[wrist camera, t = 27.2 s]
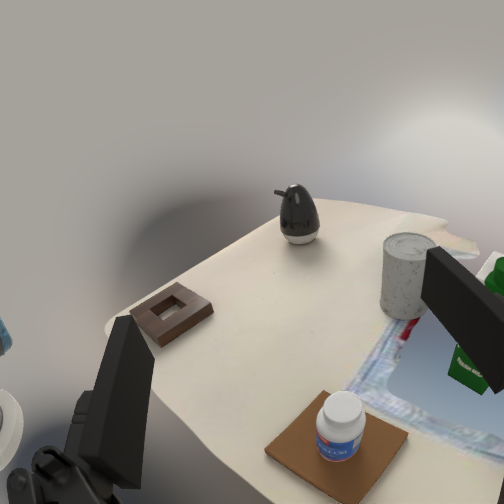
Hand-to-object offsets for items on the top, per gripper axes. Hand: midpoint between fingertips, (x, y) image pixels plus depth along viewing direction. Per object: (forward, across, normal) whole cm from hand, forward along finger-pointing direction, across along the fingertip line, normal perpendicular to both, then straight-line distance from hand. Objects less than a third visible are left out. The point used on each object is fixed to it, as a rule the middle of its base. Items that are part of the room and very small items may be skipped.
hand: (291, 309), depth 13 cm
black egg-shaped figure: (+62, +13, -30) cm, 71 cm away
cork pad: (+6, +5, -30) cm, 31 cm away
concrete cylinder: (+29, +25, -30) cm, 49 cm away
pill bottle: (+6, +5, -29) cm, 30 cm away
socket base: (+41, -19, -30) cm, 54 cm away
